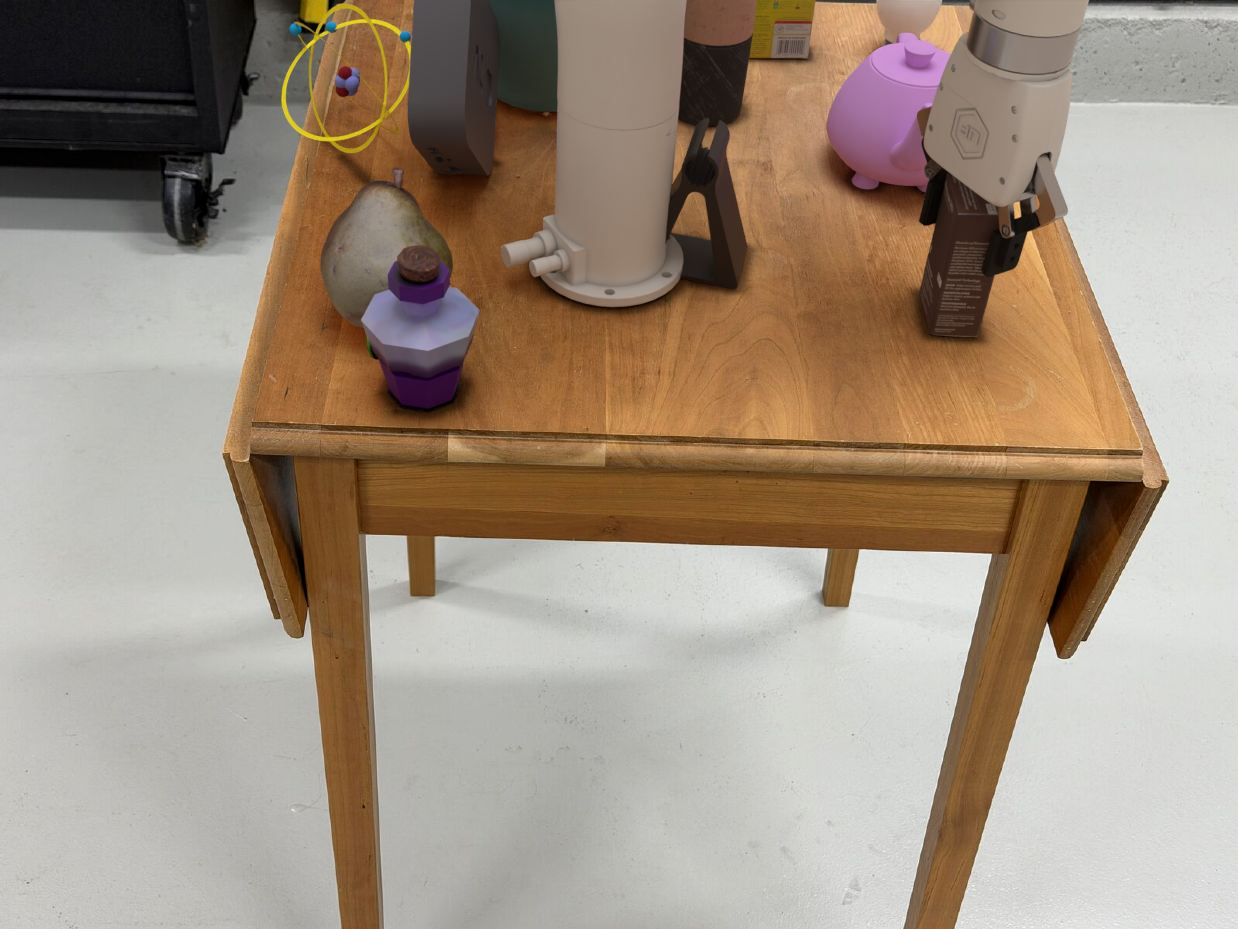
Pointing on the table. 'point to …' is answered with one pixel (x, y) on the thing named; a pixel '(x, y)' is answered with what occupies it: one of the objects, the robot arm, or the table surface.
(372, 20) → the atom model
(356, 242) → the fruit
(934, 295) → the box
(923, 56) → the teapot
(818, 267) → the table surface
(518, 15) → the flower pot
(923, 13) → the light bulb
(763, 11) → the crayon box
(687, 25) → the travel mug
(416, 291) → the potion bottle
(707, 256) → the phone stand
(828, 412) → the table surface
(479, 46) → the streaming box
